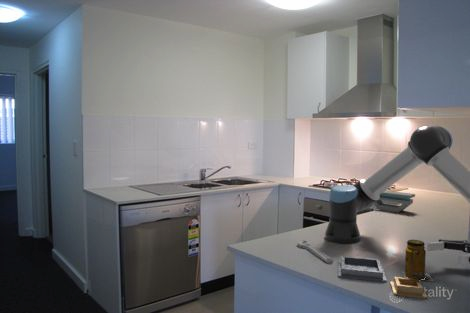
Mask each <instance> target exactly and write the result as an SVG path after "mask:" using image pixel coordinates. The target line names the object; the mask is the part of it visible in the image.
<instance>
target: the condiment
mask: <svg viewBox="0 0 470 313" xmlns="http://www.w3.org/2000/svg"><path fill="white" fill-rule="evenodd" d="M425 244H426V243H425V242H424V241H423V240H420V239H419V240H418V239H409V240H407V241H406V248H405V260H404V262H405V263H404V271H401V273H402V274H403V273H404V272H405V276H406V277H408V278H412V279H419V280H421V279H424V278H425V277H426V278H425V280H421V281H420V282H423V281H425V282H435V280H434V279H433V278H432V277H431V276H430V274H429V273H427V272H426V256H427V255H426V251H427V250H426V249H425V248H426V247H425ZM405 276H404V278H406V277H405Z"/></svg>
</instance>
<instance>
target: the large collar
mask: <svg viewBox="0 0 470 313" xmlns="http://www.w3.org/2000/svg"><path fill="white" fill-rule="evenodd" d="M337 268H338V273H337V274H338V278H342V279H352V280H360V281H361V280H362V281H363V280H364V281H371V282H372V281H374V282H382V283H387V280H388V279H387V277H386V275H385V274H386V273H385V269H384V267H383V263H381V260H380V258H368V257H357V256H356V257H355V256H347V255H346V256H344V255H341V260H340V259H339V260H338V267H337Z"/></svg>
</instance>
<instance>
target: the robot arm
mask: <svg viewBox="0 0 470 313" xmlns="http://www.w3.org/2000/svg"><path fill="white" fill-rule="evenodd" d="M453 143H454V142H453V135H452V134H451V133H450V131H449V130H448V129H447V128H445V127H442V126H440V125H432V126H429V125H427V126H425V125H424V126H421V127H417V129H415V130H414V131H413V133H412V134H411V136H410V139H409V141H408V142H407V147H406V148H404V149H403V150H402V151H401V152H400V153H398V154H397V155H396V156H395V157H393V158H391V160H389V161H388V162H387V163H386V164H384V165H383V166H382V167H381V168H379V169H378V170H377V171H376V172H374V173H373V174H372V175H371V176H370V177H368V178H367V179H365V178H362V179H360V180H358V181H357V182H356V183H355V184H354V185H350V184H343V185H342V184H341V185H336V186H333V187H331V189H330V192H329V221H328V224H327V227H326V229H325V232H324V235H325V236H324V237H325V240H327V241H329V242H333V243H335V244H336V243H337V244H357V243H359V242H360V241H361V232H360V230H359V226H358V224H357V223H358V222H357V217H358V215H357V213H359V212H361V211H365V210H366V211H367V210H368V209H370V208H371V207H373V205H374V202H376V201H377V200H378V199H379V195H380V194H381V193H382V192H383V191H387V189H389V188H390V187H391V186H393V185H394V184H396V183H397V182H399V181H400V180H401V179H403V178H404V177H405V176H406V175H408V174H409V173H411V172H413V170H415V169H416V168H417V167H419V166H420V165H422V164H425V165H426V166H431V167H433V168H434V170H436V171H437V173H439V174H440V175H441V176H442V178H444V180H446V181H447V182H448V183H449V184H450V185H451V186H452V187H453V188H454V189H455V190H456V191H457V192H459V194H460V195H461V196H462V197H463V198H464V199H465V200H466V201H467V202H469V203H470V170H469V169H468V168H467V167H466V166H464V164H462V162H460V161H459V160H458V158H456V157H455V155H453V154H452V153H451V152H450V149H451V148H452V146H453ZM445 249H447V250H453V251H454V250H455V251H461V252H463V253H466V254H461V255H458V259H457V260H458V263H457V264H458V265H466V264H467V265H469V264H470V242H468V240H467V239H465V240H464V239H463V240H459V239H458V240H457V239H442V238H440V239H438V241H434V242H427V243H426V251H428V252H433V251H444V250H445Z"/></svg>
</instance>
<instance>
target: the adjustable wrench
mask: <svg viewBox="0 0 470 313" xmlns="http://www.w3.org/2000/svg"><path fill="white" fill-rule="evenodd" d="M297 246H298V247H299V248H300V249H301V248H302V249H306V250H308V251H309V252H310V253H312V254H314V255H315V256H316V257H317V258H319V259H320V258H321V259H320V260H321V261H323V260H324V261H325V262H324V261H323V262H324V263H326V262H327V263H326V264H329V263H331V264H333V263H334V261H333V258H332V257H330V256H328V255H326V254H325V253H323V252H322V251H320V250H319V249H318V248H317V247H315V246H313V241H310V240H307V239H303V240H302V241H297ZM332 262H333V263H332Z"/></svg>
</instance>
